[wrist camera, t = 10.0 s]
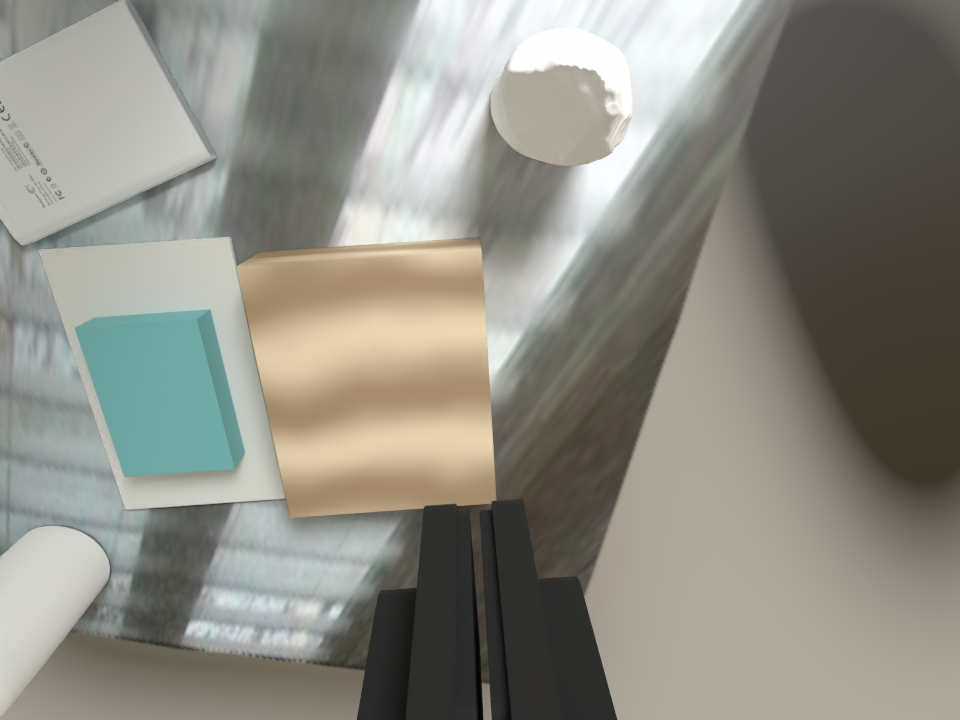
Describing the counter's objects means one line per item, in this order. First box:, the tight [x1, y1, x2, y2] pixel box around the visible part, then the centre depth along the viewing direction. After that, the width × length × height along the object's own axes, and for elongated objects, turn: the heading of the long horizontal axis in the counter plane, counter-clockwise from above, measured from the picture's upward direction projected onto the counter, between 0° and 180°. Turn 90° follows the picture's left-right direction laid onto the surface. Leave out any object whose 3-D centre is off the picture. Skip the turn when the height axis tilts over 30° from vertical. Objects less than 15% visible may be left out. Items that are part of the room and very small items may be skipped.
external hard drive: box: [0, 0, 217, 246], centre depth 32 cm, size 2×8×12 cm
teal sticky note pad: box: [75, 309, 245, 477], centre depth 36 cm, size 10×7×2 cm
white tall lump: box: [490, 28, 632, 166], centre depth 27 cm, size 6×12×6 cm
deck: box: [236, 238, 496, 518], centre depth 36 cm, size 16×13×4 cm
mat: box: [38, 237, 286, 510], centre depth 37 cm, size 18×11×1 cm, turn 3°
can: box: [0, 526, 110, 718], centre depth 37 cm, size 6×6×12 cm
